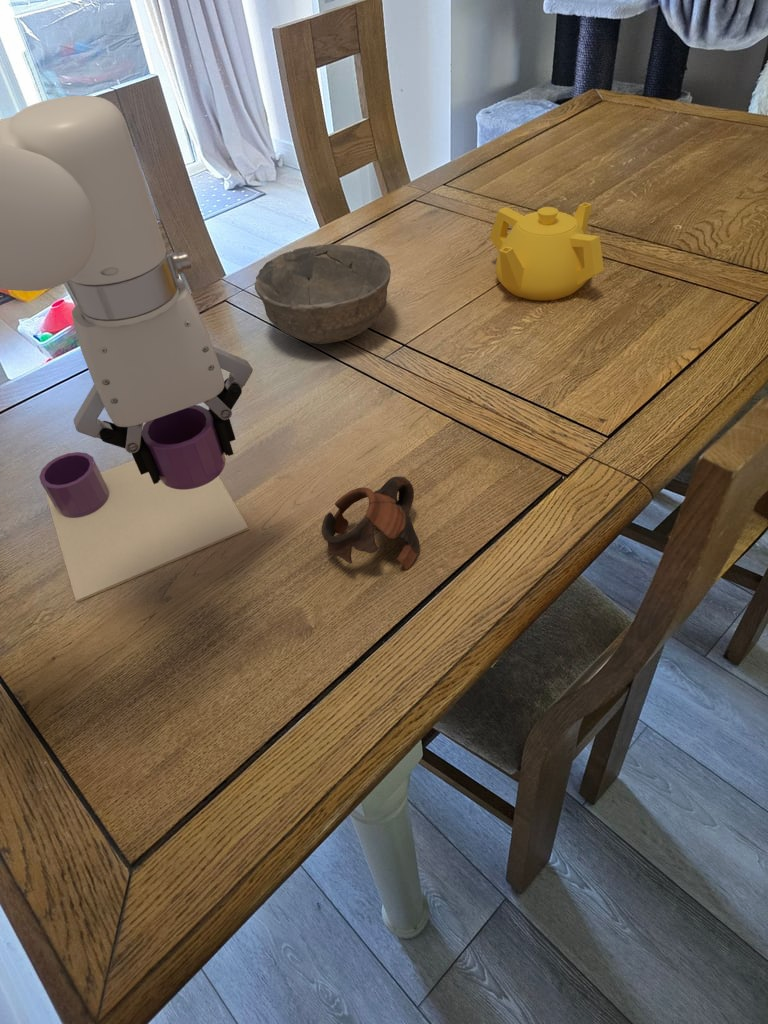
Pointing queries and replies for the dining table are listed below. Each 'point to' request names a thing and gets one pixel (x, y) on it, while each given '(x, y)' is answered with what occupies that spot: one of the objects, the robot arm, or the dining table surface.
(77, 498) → the purple cup
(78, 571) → the placemat
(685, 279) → the dining table surface
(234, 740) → the dining table surface
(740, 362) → the dining table surface
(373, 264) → the bowl
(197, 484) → the purple hollow cylinder
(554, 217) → the teapot
